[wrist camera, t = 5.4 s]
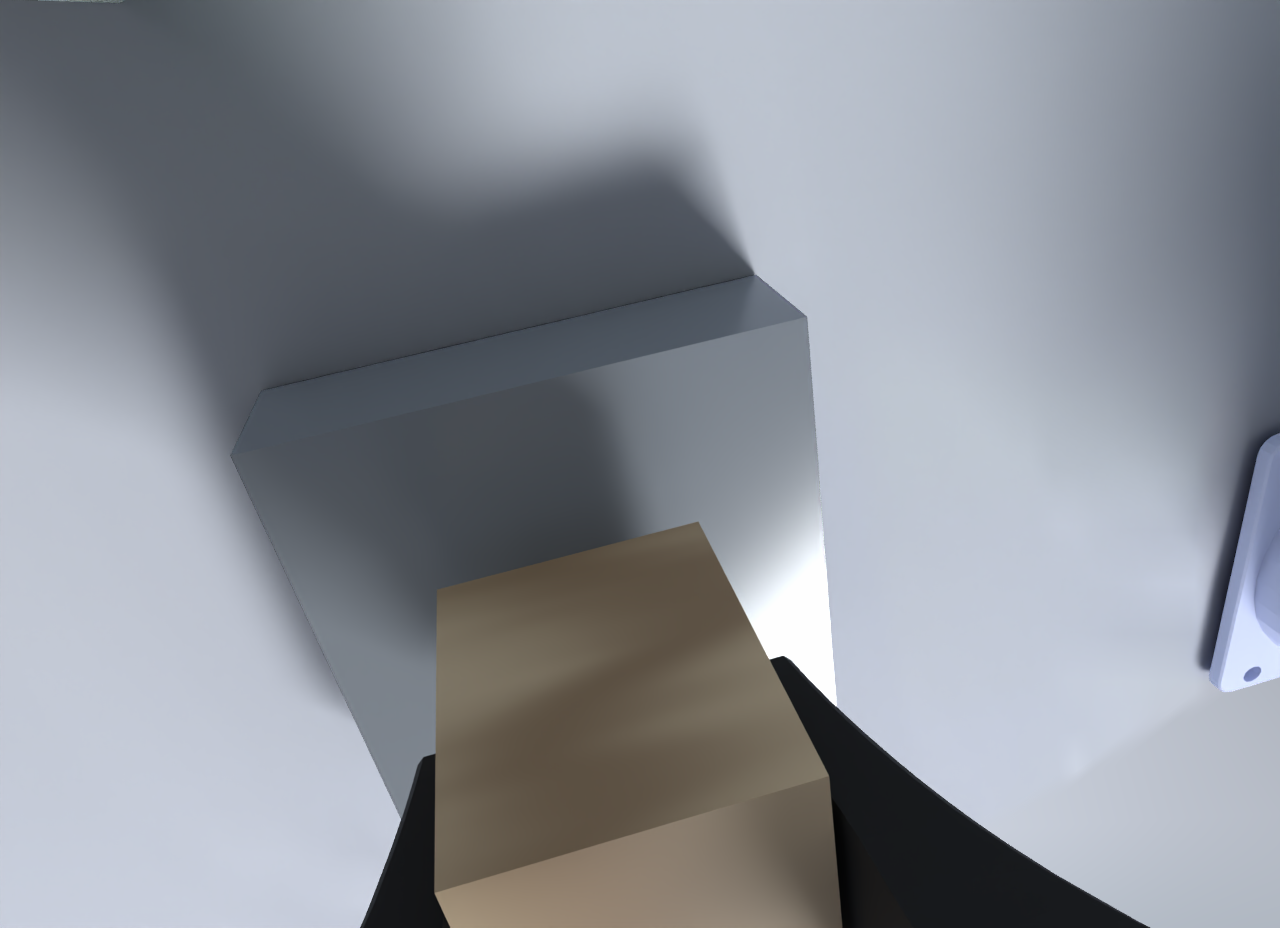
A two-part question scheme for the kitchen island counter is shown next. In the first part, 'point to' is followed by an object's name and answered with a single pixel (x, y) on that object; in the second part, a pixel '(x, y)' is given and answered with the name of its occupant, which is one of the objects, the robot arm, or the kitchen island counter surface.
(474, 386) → the slate base
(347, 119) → the kitchen island counter surface
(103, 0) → the sage block
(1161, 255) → the kitchen island counter surface
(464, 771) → the oak block
